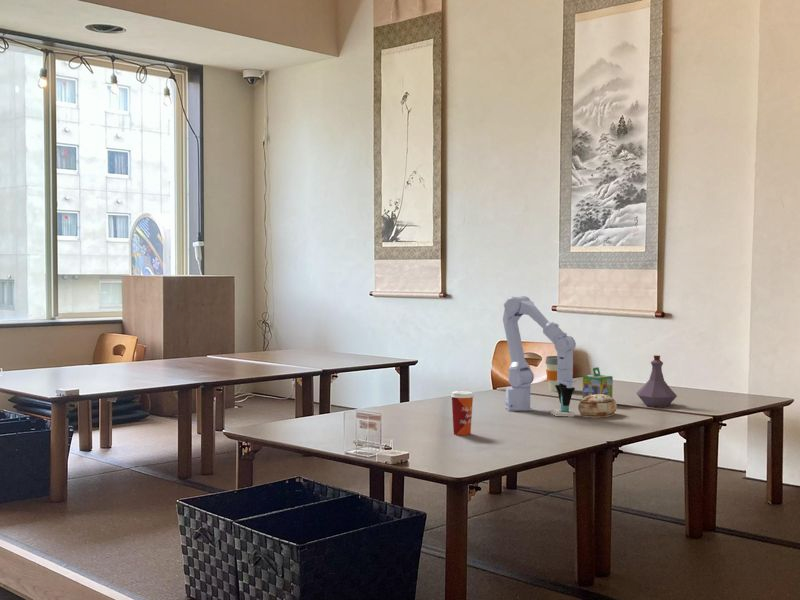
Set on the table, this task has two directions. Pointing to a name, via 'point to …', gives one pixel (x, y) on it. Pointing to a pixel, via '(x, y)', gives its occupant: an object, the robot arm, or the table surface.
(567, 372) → the robot arm
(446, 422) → the table surface
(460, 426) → the paper cup
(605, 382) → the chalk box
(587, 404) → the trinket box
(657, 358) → the flask
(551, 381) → the reusable coffee cup
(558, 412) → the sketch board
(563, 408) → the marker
